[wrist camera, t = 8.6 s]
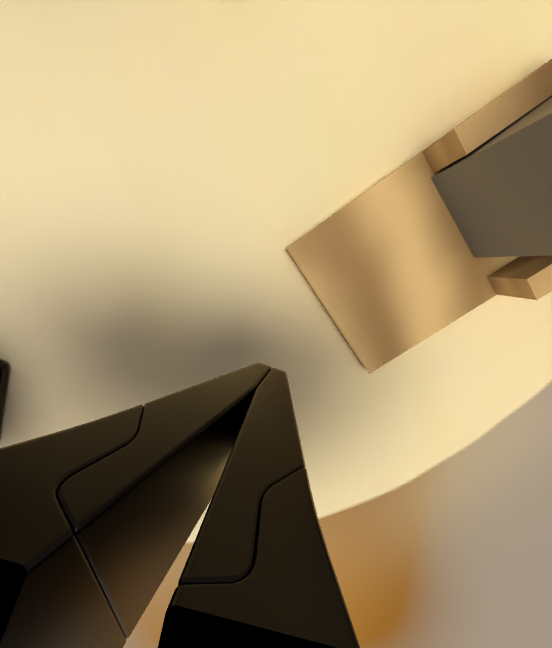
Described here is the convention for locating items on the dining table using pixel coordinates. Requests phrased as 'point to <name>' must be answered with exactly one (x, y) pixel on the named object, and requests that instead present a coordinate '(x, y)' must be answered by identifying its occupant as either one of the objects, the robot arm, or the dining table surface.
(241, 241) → the dining table surface
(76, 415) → the dining table surface
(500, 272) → the wooden stand
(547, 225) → the plug block
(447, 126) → the dining table surface
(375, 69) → the dining table surface
